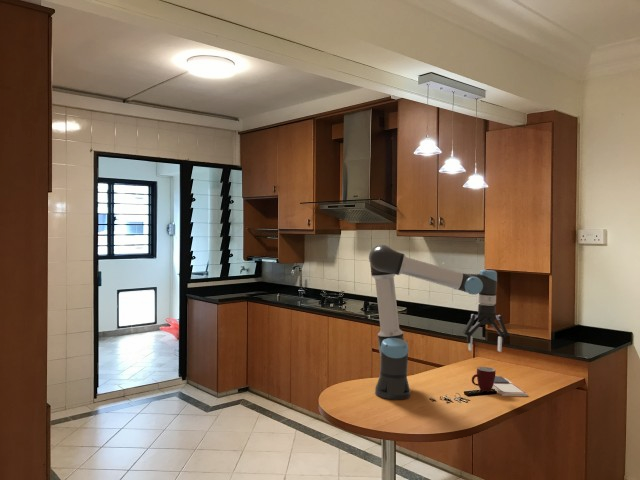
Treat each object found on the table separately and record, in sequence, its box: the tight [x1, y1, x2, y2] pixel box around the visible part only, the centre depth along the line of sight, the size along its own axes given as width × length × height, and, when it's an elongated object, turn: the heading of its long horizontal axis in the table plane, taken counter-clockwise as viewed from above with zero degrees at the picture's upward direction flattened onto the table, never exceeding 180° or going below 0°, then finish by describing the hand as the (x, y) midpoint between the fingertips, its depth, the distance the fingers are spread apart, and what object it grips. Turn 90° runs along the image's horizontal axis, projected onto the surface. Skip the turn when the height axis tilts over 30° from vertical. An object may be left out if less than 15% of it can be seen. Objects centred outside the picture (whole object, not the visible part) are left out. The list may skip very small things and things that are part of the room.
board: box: [492, 375, 529, 397], centre depth 240 cm, size 12×24×2 cm, turn 3°
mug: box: [471, 366, 496, 392], centre depth 234 cm, size 10×8×10 cm
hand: (484, 350), depth 233 cm, fingers open, 13 cm apart
